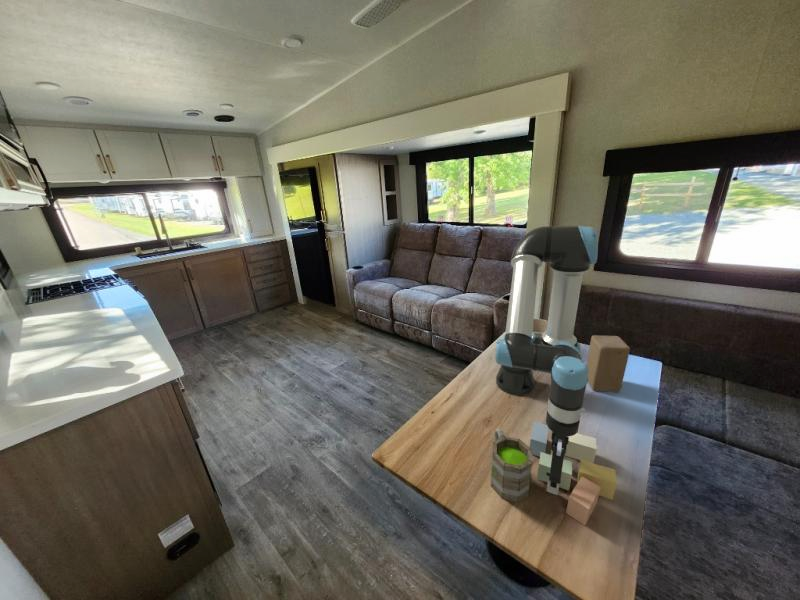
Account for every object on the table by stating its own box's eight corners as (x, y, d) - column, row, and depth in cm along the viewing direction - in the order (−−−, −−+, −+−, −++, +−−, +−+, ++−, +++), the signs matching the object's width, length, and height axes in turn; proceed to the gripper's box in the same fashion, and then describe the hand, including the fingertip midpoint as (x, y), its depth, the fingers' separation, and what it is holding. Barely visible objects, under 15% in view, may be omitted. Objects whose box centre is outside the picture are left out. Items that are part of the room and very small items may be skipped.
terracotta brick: (585, 526, 74) (588, 509, 72) (566, 512, 77) (569, 496, 75) (596, 503, 79) (600, 487, 77) (578, 492, 82) (581, 476, 80)
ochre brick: (577, 487, 83) (580, 471, 81) (577, 474, 87) (580, 459, 85) (612, 500, 80) (616, 483, 78) (611, 486, 83) (615, 470, 81)
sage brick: (536, 479, 86) (539, 463, 84) (538, 467, 90) (540, 451, 88) (568, 490, 83) (571, 474, 81) (569, 477, 86) (572, 462, 84)
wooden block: (621, 393, 117) (631, 348, 110) (592, 391, 119) (600, 346, 112) (609, 378, 126) (619, 335, 119) (583, 376, 128) (590, 334, 121)
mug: (537, 499, 81) (542, 466, 77) (497, 504, 80) (500, 471, 76) (512, 451, 96) (515, 421, 91) (478, 455, 95) (479, 425, 91)
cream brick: (562, 454, 93) (565, 440, 91) (563, 444, 97) (565, 429, 95) (593, 464, 90) (596, 449, 87) (592, 453, 93) (596, 438, 91)
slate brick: (544, 458, 93) (546, 443, 90) (528, 453, 95) (530, 438, 92) (546, 439, 99) (548, 425, 97) (532, 435, 101) (533, 421, 99)
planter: (551, 360, 141) (554, 335, 136) (514, 352, 149) (516, 329, 144) (554, 344, 154) (557, 321, 149) (520, 338, 162) (522, 316, 157)
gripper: (580, 450, 68) (566, 519, 76) (580, 393, 85) (569, 453, 93) (543, 439, 71) (534, 505, 79) (550, 386, 89) (542, 445, 97)
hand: (553, 477), depth 86 cm, fingers open, 9 cm apart
